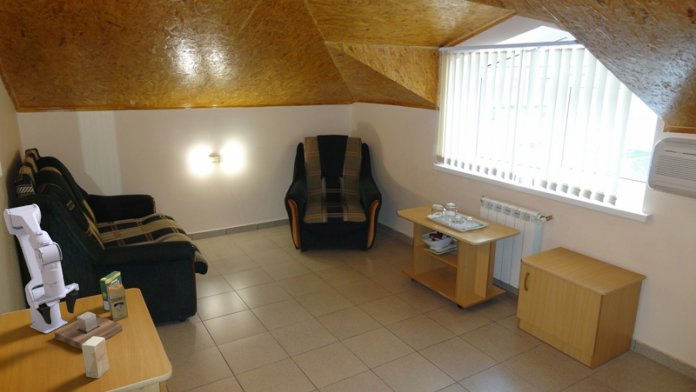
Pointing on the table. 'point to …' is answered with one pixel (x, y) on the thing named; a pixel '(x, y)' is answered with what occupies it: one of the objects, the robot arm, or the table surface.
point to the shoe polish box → (117, 301)
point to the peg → (87, 322)
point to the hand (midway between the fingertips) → (59, 317)
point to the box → (95, 357)
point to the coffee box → (106, 281)
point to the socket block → (77, 338)
